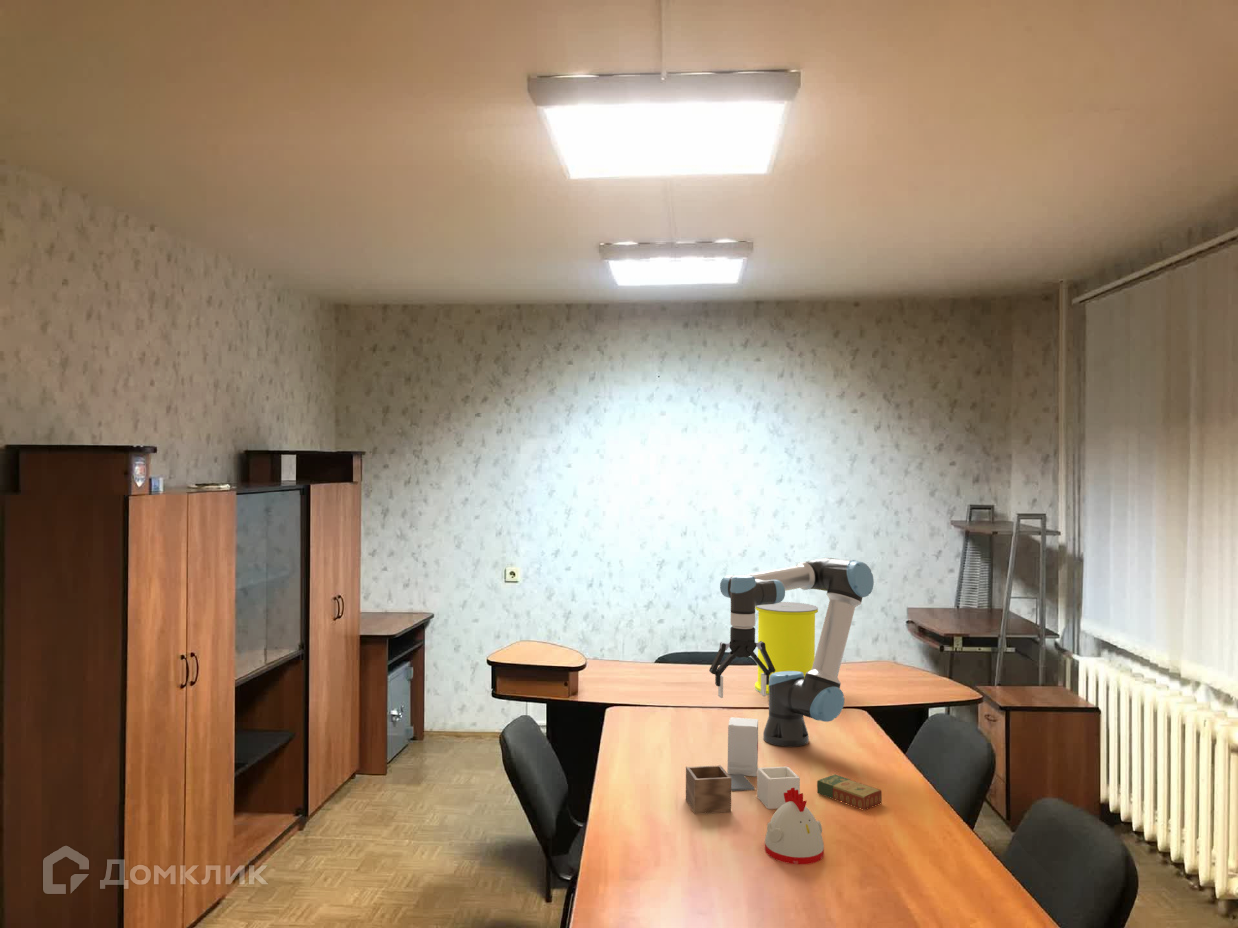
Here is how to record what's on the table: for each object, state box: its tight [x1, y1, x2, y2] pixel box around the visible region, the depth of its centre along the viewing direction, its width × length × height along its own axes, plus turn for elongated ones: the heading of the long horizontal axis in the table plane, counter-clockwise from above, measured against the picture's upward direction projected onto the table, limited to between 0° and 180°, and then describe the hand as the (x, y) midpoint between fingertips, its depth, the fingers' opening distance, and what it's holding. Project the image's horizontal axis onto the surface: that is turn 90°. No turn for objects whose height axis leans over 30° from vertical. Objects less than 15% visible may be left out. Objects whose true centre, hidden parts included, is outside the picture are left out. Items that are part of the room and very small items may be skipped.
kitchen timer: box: [764, 788, 825, 865], centre depth 204 cm, size 14×14×15 cm
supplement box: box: [726, 716, 759, 778], centre depth 259 cm, size 9×9×15 cm
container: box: [754, 601, 819, 696], centre depth 359 cm, size 26×26×35 cm
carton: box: [816, 773, 883, 811], centre depth 238 cm, size 8×16×4 cm, turn 38°
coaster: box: [728, 774, 756, 792], centre depth 248 cm, size 11×11×1 cm
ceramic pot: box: [756, 766, 801, 810], centre depth 235 cm, size 9×9×8 cm
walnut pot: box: [685, 764, 732, 815], centre depth 232 cm, size 10×10×9 cm
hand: (742, 696), depth 260 cm, fingers open, 13 cm apart
